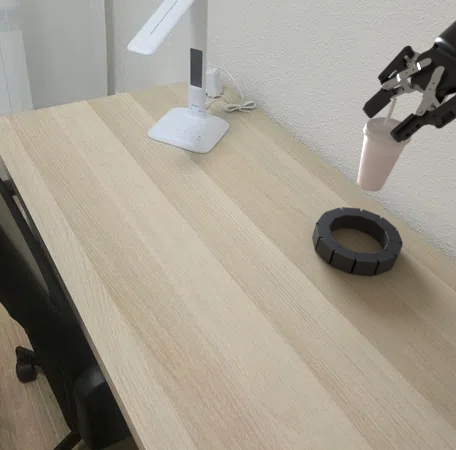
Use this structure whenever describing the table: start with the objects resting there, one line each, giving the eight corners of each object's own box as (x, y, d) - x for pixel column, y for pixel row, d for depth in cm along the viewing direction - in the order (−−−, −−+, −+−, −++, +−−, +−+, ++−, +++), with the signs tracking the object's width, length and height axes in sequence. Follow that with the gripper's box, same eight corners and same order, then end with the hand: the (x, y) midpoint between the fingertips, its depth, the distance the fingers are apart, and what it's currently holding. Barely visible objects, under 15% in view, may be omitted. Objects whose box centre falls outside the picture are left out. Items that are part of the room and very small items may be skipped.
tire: (405, 240, 94) (411, 227, 92) (381, 288, 86) (387, 274, 84) (330, 210, 100) (334, 197, 98) (300, 252, 91) (303, 239, 89)
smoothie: (359, 166, 86) (385, 84, 77) (399, 183, 83) (431, 99, 74) (340, 184, 83) (365, 100, 73) (381, 203, 79) (412, 117, 70)
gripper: (438, -5, 74) (339, 87, 79) (521, 36, 63) (401, 139, 68) (456, 30, 78) (361, 115, 83) (536, 74, 68) (422, 168, 73)
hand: (379, 125), depth 76 cm, fingers closed on smoothie, 6 cm apart
